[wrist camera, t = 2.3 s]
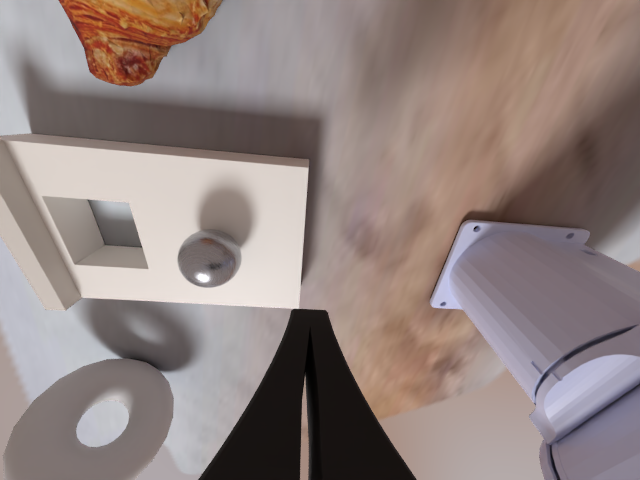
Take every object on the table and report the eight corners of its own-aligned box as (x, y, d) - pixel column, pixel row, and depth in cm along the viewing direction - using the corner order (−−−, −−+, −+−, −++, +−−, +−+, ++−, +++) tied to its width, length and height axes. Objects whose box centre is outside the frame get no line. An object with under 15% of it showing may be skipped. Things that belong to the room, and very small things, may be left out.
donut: (83, 353, 23) (-62, 506, 14) (94, 333, 21) (-58, 487, 13) (183, 389, 26) (117, 533, 17) (198, 374, 25) (134, 520, 16)
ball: (246, 221, 14) (228, 250, 11) (248, 267, 15) (234, 302, 13) (189, 217, 14) (157, 245, 11) (198, 264, 15) (171, 298, 12)
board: (309, 159, 15) (308, 173, 11) (300, 286, 19) (297, 321, 16) (30, 133, 14) (-59, 140, 10) (93, 274, 18) (45, 309, 15)
